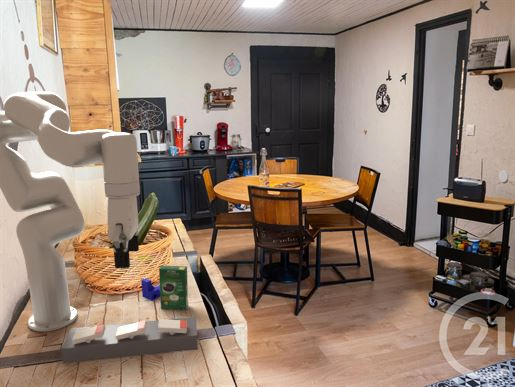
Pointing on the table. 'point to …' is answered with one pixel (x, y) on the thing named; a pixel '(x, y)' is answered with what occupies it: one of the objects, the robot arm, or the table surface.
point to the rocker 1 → (89, 334)
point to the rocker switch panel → (130, 343)
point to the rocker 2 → (131, 330)
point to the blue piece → (150, 290)
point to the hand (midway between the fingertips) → (127, 258)
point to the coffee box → (173, 287)
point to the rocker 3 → (172, 326)
